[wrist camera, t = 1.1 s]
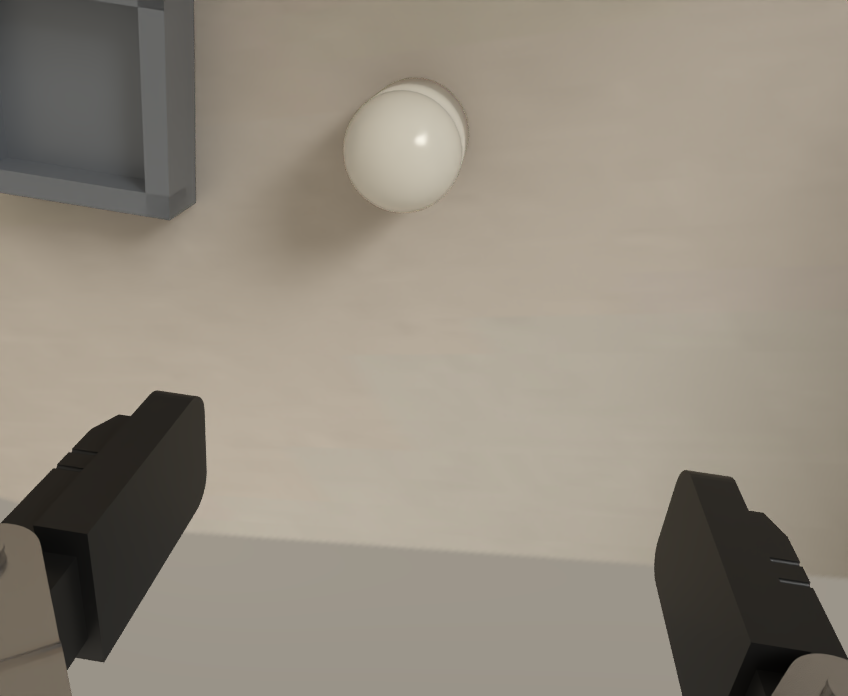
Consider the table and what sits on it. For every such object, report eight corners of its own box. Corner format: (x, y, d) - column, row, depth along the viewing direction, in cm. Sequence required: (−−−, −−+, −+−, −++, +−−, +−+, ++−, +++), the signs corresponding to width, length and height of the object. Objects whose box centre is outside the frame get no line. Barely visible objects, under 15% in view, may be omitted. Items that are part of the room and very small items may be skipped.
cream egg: (369, 70, 30) (336, 89, 24) (476, 86, 30) (467, 109, 24) (359, 177, 32) (326, 217, 26) (460, 193, 32) (448, 236, 26)
